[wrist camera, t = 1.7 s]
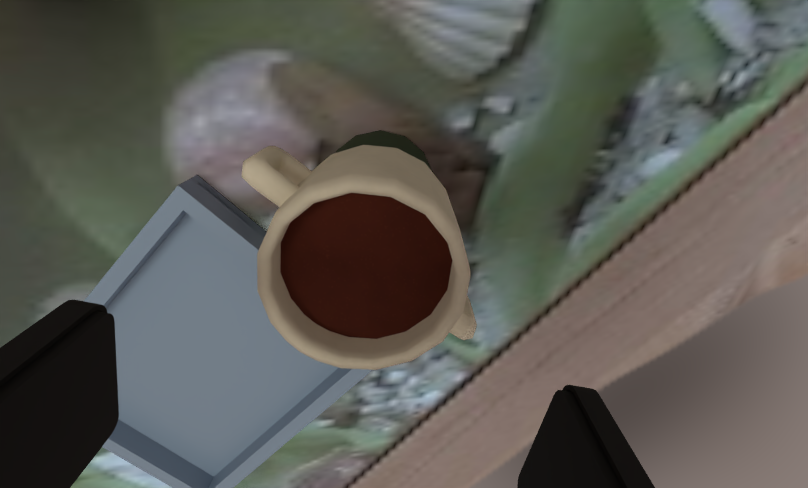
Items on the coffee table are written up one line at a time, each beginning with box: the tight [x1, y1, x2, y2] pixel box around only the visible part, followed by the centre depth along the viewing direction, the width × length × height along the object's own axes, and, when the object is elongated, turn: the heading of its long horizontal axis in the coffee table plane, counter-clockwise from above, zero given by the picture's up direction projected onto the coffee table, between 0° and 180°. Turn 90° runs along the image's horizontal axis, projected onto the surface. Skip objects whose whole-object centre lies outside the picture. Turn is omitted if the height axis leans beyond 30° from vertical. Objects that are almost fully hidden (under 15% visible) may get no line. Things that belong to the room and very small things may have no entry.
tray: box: [84, 175, 372, 488], centre depth 30 cm, size 20×16×2 cm
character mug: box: [242, 130, 477, 370], centre depth 20 cm, size 11×7×13 cm, turn 50°
